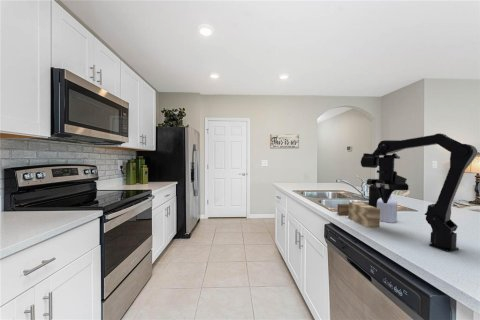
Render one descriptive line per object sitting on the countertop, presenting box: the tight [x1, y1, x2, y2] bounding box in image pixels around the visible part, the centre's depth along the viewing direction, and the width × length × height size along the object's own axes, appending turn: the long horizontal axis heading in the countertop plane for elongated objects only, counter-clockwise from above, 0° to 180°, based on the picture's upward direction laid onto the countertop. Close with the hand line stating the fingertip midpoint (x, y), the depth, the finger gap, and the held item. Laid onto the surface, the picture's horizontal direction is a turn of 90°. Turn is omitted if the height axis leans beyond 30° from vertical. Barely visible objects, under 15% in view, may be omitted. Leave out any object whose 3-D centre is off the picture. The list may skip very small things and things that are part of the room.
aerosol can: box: [368, 184, 381, 208], centre depth 134 cm, size 8×8×20 cm
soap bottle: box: [377, 194, 398, 224], centre depth 122 cm, size 9×9×25 cm
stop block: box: [336, 203, 349, 217], centre depth 132 cm, size 3×10×6 cm, turn 96°
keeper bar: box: [347, 201, 381, 229], centre depth 117 cm, size 16×6×9 cm, turn 6°
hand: (385, 203), depth 103 cm, fingers closed
